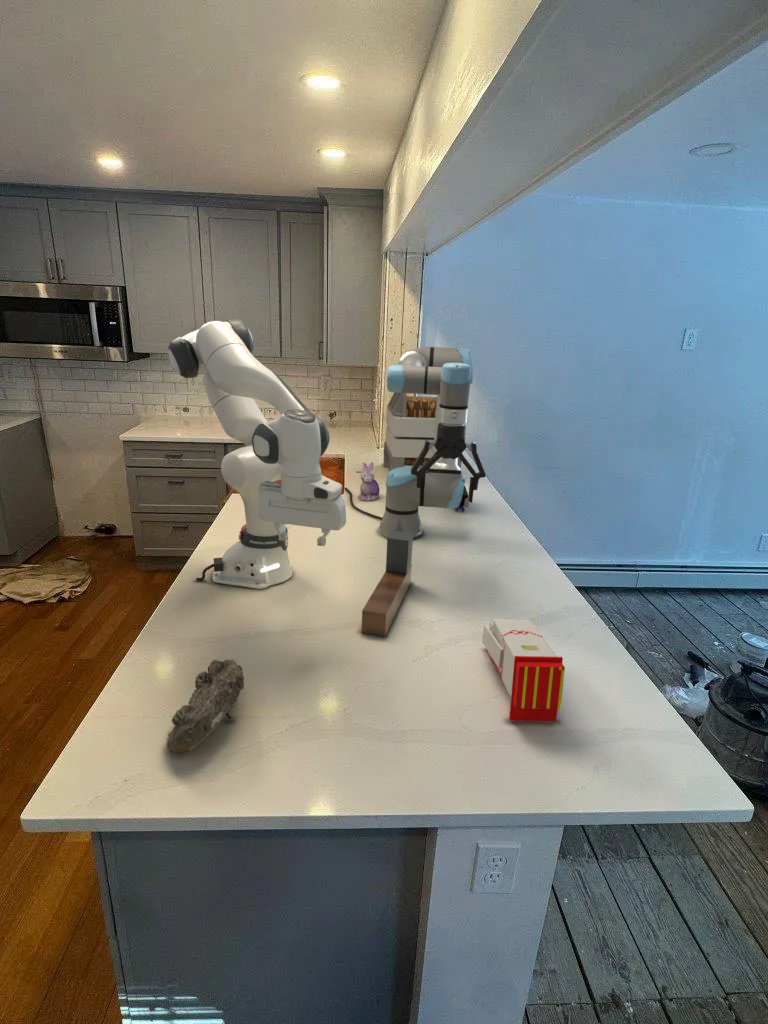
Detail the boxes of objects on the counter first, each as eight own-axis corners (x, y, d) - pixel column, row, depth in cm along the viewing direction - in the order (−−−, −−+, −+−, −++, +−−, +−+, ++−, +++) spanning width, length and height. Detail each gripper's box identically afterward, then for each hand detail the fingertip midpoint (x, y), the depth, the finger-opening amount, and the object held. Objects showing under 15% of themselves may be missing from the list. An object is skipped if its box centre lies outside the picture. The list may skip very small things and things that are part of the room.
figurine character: (468, 516, 224) (463, 500, 237) (471, 498, 221) (465, 483, 234) (452, 515, 224) (447, 499, 237) (453, 498, 220) (449, 482, 234)
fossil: (192, 660, 117) (244, 628, 112) (224, 691, 120) (276, 661, 115) (142, 746, 98) (202, 712, 93) (182, 779, 101) (242, 748, 96)
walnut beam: (390, 579, 166) (391, 561, 164) (410, 582, 165) (411, 564, 163) (361, 632, 139) (362, 610, 137) (385, 636, 137) (386, 614, 135)
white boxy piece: (382, 463, 289) (386, 382, 275) (445, 464, 293) (451, 384, 279) (390, 482, 257) (394, 392, 243) (460, 483, 261) (468, 394, 247)
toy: (529, 604, 135) (573, 663, 106) (524, 656, 138) (566, 727, 109) (478, 603, 135) (509, 662, 105) (474, 655, 137) (503, 727, 108)
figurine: (364, 502, 230) (365, 466, 225) (353, 495, 238) (354, 460, 233) (384, 500, 234) (386, 464, 229) (373, 492, 242) (375, 458, 237)
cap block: (390, 562, 163) (392, 530, 160) (411, 565, 162) (413, 532, 158) (385, 571, 158) (387, 537, 154) (406, 574, 156) (408, 540, 153)
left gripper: (251, 483, 125) (254, 541, 130) (339, 493, 120) (339, 553, 125) (264, 476, 131) (267, 532, 136) (348, 485, 126) (348, 543, 131)
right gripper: (405, 424, 146) (401, 502, 153) (502, 428, 146) (493, 506, 153) (404, 419, 153) (400, 494, 160) (496, 423, 153) (488, 497, 160)
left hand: (302, 542), depth 130 cm, fingers open, 8 cm apart
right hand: (445, 500), depth 157 cm, fingers open, 13 cm apart
